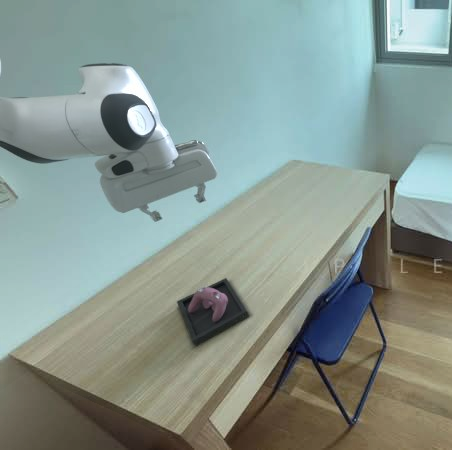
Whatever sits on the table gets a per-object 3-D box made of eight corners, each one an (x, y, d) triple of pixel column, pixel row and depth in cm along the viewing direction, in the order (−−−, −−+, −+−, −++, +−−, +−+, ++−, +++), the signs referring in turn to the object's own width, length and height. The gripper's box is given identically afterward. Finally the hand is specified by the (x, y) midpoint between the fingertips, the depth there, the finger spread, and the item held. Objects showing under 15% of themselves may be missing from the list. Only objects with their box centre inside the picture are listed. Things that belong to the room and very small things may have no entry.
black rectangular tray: (196, 346, 72) (192, 341, 71) (180, 306, 82) (176, 301, 81) (249, 316, 78) (247, 311, 77) (228, 282, 89) (226, 277, 88)
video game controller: (230, 317, 79) (231, 291, 78) (214, 324, 75) (215, 297, 74) (203, 307, 83) (203, 282, 81) (186, 313, 78) (186, 287, 77)
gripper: (196, 135, 70) (218, 188, 78) (83, 166, 57) (124, 226, 65) (209, 140, 67) (231, 195, 75) (92, 174, 54) (134, 236, 62)
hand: (180, 210), depth 70 cm, fingers open, 8 cm apart
